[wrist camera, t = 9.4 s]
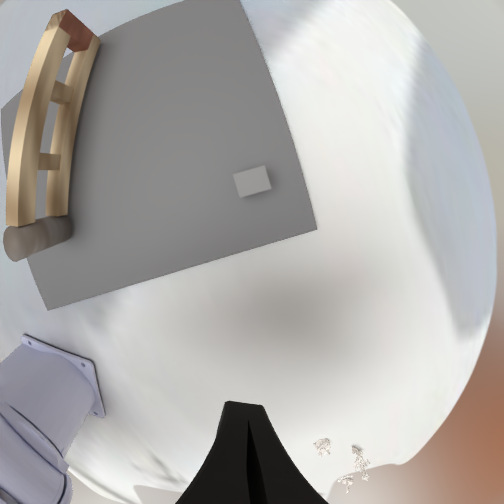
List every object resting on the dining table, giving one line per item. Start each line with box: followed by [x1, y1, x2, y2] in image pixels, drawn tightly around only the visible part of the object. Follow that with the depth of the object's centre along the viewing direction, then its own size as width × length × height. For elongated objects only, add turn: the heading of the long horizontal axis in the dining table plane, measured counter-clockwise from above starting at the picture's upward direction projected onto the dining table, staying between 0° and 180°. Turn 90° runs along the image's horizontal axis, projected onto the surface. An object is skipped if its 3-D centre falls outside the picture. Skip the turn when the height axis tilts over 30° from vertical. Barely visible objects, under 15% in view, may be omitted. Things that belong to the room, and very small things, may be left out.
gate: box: [3, 9, 101, 262], centre depth 11 cm, size 15×2×5 cm, turn 172°
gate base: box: [1, 0, 317, 310], centre depth 14 cm, size 22×19×4 cm
